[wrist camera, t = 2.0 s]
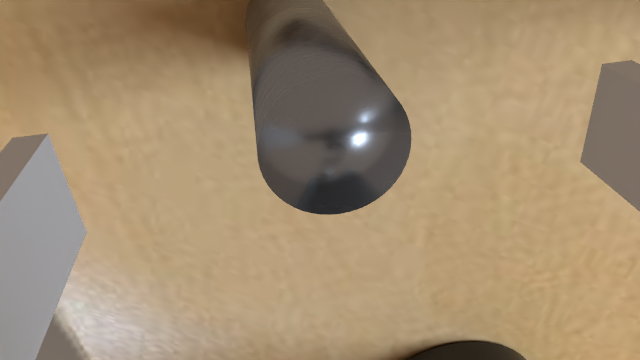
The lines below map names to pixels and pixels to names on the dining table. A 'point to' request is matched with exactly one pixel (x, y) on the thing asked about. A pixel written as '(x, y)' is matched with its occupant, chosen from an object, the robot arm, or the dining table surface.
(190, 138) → the dining table surface
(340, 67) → the steel peg
